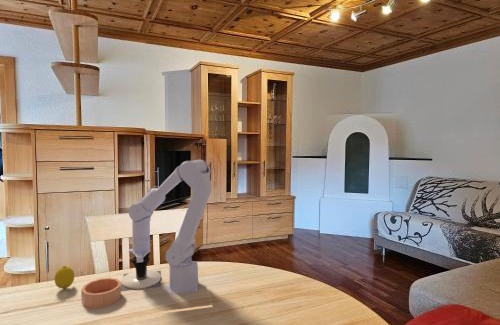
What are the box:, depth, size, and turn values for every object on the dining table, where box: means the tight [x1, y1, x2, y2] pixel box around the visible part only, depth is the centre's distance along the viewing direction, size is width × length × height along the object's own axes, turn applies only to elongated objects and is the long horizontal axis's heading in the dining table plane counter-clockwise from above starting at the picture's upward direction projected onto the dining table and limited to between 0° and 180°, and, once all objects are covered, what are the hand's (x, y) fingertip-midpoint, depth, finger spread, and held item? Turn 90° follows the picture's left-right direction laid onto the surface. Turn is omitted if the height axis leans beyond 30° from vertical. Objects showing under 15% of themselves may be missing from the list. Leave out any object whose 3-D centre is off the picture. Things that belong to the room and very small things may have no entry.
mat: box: [121, 270, 162, 292], centre depth 109 cm, size 13×13×1 cm
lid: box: [120, 266, 162, 290], centre depth 109 cm, size 13×13×4 cm
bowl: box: [80, 277, 122, 309], centre depth 96 cm, size 11×11×4 cm
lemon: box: [54, 265, 75, 290], centre depth 102 cm, size 6×6×8 cm
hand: (141, 274), depth 109 cm, fingers closed on lid, 4 cm apart
